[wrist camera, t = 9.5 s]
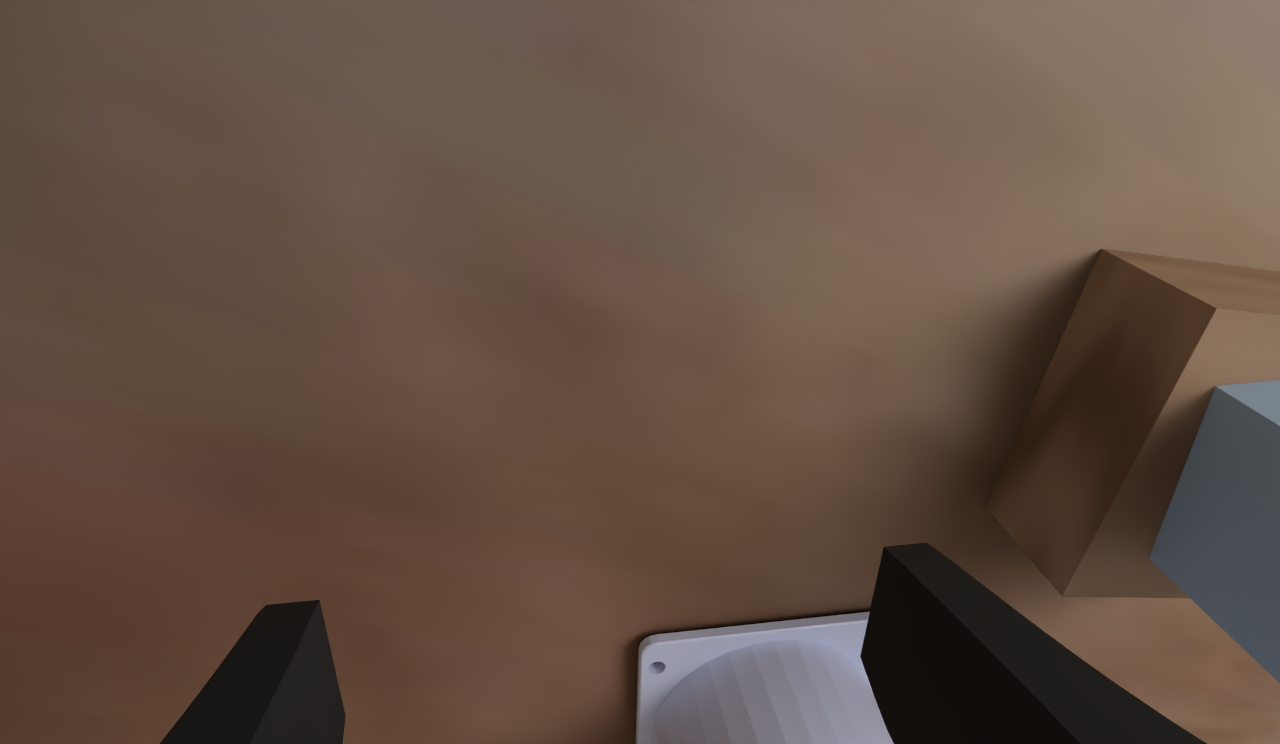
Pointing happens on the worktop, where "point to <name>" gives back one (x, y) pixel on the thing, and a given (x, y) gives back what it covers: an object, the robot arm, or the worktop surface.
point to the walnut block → (1130, 414)
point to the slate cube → (1231, 519)
